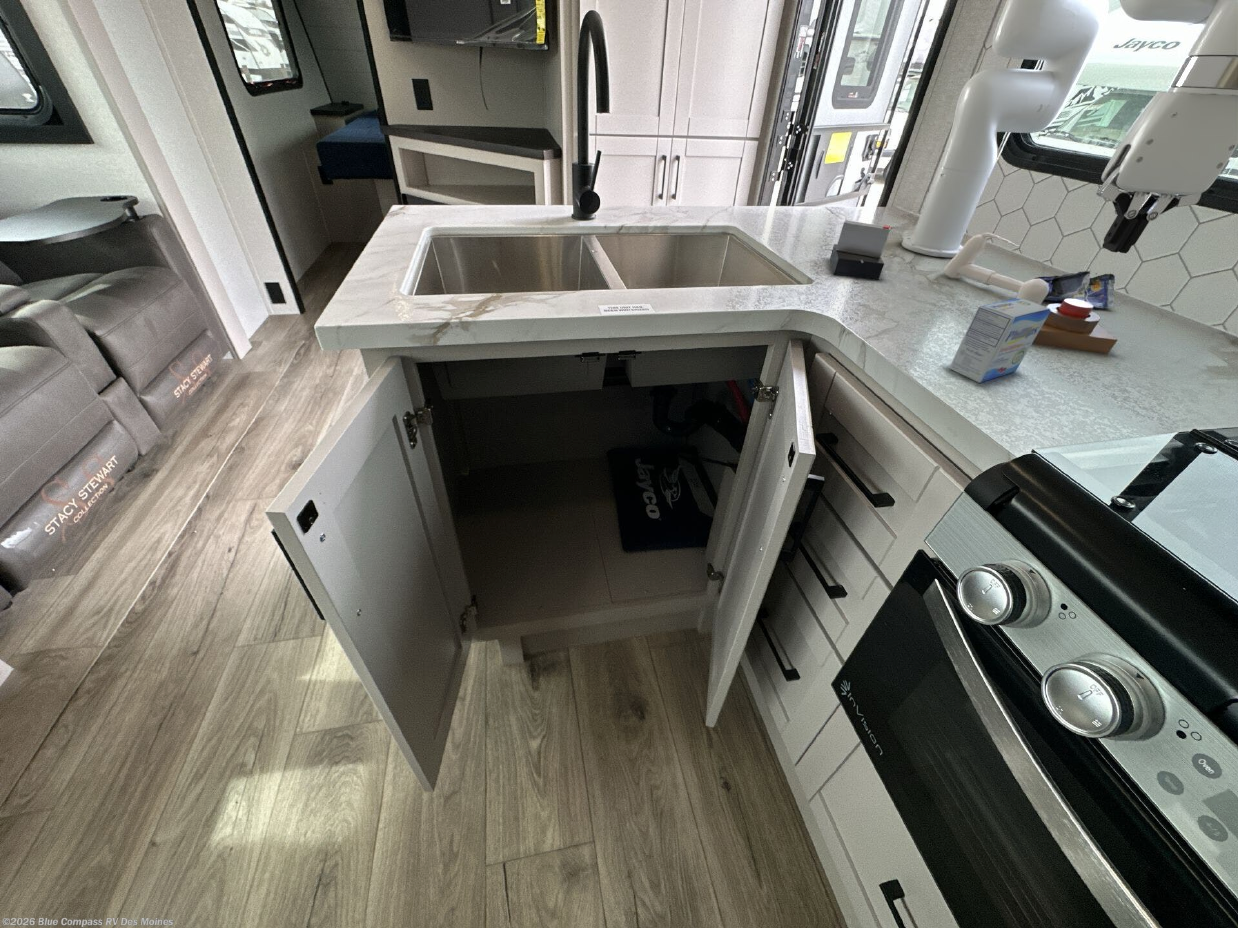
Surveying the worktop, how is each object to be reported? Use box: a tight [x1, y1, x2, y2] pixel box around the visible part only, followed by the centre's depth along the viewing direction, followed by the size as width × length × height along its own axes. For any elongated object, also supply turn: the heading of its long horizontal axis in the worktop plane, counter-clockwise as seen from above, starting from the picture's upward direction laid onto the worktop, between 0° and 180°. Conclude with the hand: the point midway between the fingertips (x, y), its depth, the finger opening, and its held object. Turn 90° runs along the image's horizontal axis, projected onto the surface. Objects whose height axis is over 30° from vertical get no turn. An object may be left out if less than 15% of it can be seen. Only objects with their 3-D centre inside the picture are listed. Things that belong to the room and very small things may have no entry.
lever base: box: [824, 243, 893, 281], centre depth 98 cm, size 12×12×3 cm
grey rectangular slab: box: [836, 219, 892, 258], centre depth 95 cm, size 8×2×5 cm, turn 61°
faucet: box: [943, 232, 1049, 305], centre depth 90 cm, size 4×18×10 cm, turn 25°
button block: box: [1031, 303, 1118, 355], centre depth 75 cm, size 8×10×4 cm
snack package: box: [1034, 270, 1116, 310], centre depth 89 cm, size 12×6×12 cm
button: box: [1058, 299, 1094, 318], centre depth 74 cm, size 4×4×2 cm
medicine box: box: [948, 297, 1051, 384], centre depth 64 cm, size 8×4×9 cm, turn 117°
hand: (1114, 249), depth 69 cm, fingers closed
